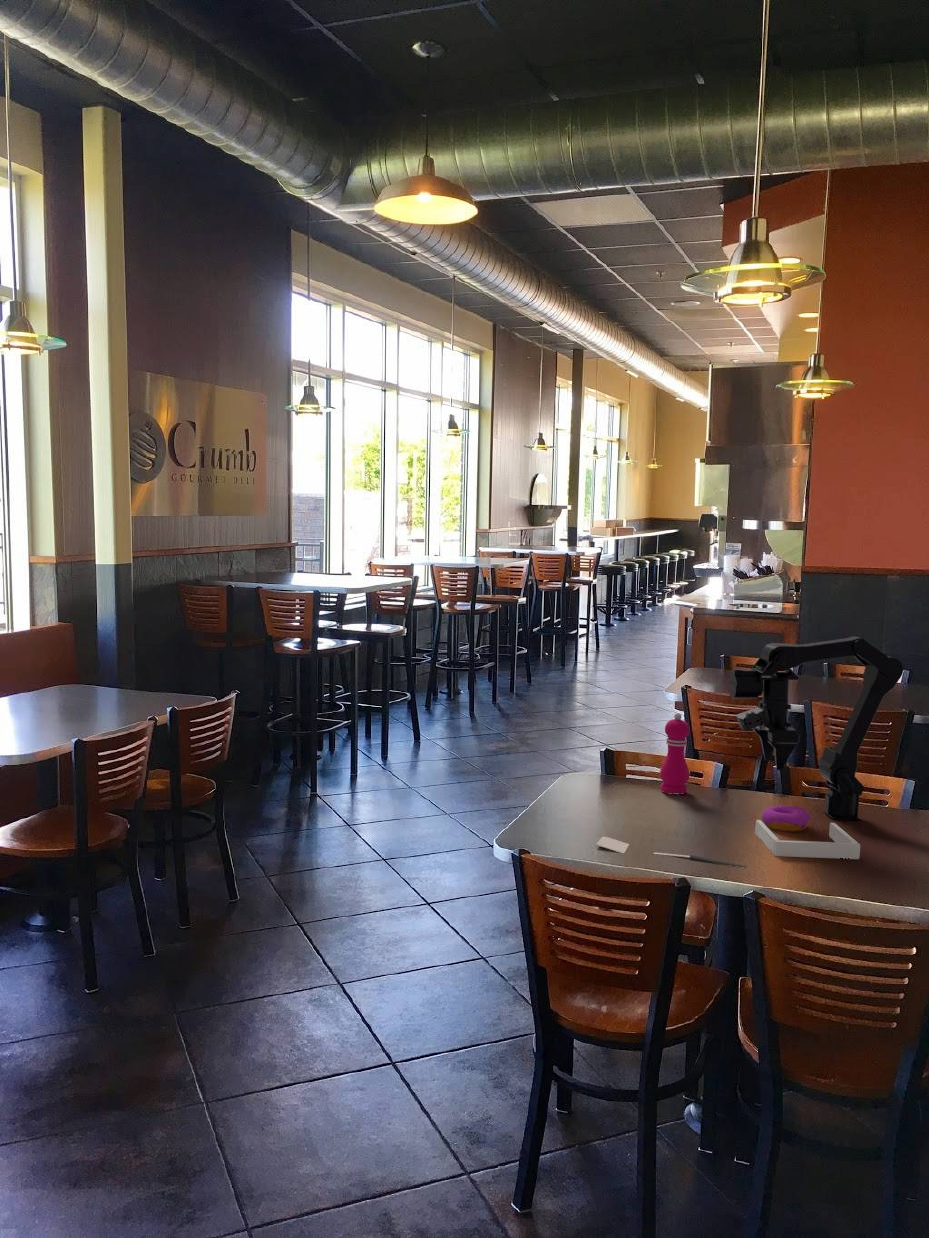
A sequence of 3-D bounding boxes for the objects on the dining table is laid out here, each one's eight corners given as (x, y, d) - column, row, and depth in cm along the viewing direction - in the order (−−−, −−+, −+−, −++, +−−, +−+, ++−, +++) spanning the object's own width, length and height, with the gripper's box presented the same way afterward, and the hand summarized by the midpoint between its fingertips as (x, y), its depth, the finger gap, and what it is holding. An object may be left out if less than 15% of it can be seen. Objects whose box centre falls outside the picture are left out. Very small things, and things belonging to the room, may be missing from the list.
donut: (774, 818, 223) (775, 798, 223) (817, 828, 216) (819, 808, 216) (754, 827, 215) (755, 807, 215) (798, 838, 209) (799, 817, 208)
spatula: (602, 842, 203) (603, 835, 203) (747, 864, 192) (748, 857, 192) (595, 851, 197) (595, 844, 197) (744, 874, 186) (745, 867, 186)
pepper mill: (691, 796, 238) (695, 716, 237) (661, 795, 239) (666, 715, 237) (685, 788, 246) (689, 710, 244) (656, 787, 246) (660, 709, 244)
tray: (833, 836, 210) (834, 822, 210) (859, 859, 196) (860, 844, 196) (755, 833, 211) (755, 819, 210) (775, 855, 196) (776, 841, 196)
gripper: (730, 691, 232) (728, 755, 233) (751, 705, 213) (748, 775, 215) (776, 691, 232) (774, 755, 233) (802, 706, 213) (799, 775, 215)
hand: (773, 765), depth 224 cm, fingers open, 9 cm apart
